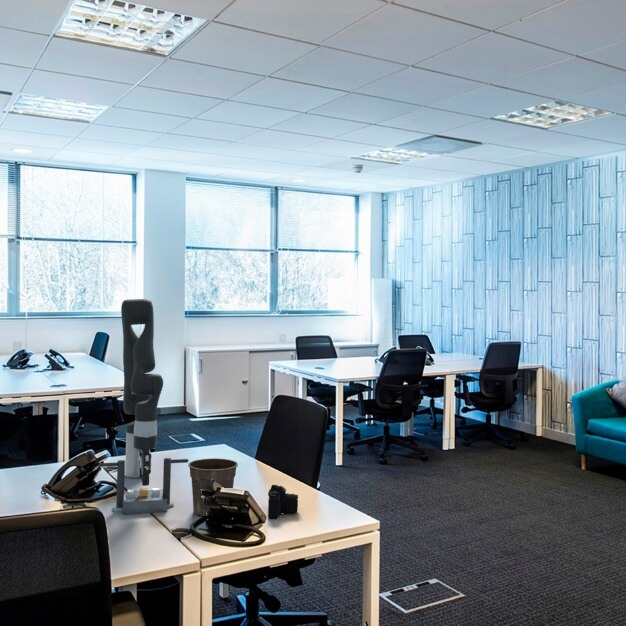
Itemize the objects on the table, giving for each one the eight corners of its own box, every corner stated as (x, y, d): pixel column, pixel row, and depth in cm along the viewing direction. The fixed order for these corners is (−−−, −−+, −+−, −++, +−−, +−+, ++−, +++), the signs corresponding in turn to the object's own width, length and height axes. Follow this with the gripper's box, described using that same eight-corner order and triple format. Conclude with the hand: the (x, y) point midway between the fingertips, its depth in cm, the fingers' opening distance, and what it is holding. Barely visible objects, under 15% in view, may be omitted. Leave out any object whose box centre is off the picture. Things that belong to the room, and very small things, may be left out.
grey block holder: (120, 503, 227) (120, 486, 226) (162, 500, 231) (162, 483, 231) (122, 514, 215) (123, 496, 215) (167, 511, 220) (167, 493, 220)
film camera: (295, 521, 215) (296, 493, 215) (265, 519, 215) (266, 492, 215) (298, 507, 230) (299, 481, 230) (270, 505, 231) (271, 479, 230)
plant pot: (182, 506, 226) (184, 459, 226) (229, 502, 232) (230, 456, 232) (192, 522, 211) (194, 471, 210) (242, 517, 217) (243, 467, 216)
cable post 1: (97, 508, 221) (98, 460, 220) (127, 506, 224) (128, 458, 224) (97, 513, 216) (99, 463, 216) (128, 511, 219) (129, 462, 219)
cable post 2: (157, 504, 227) (158, 457, 227) (186, 502, 231) (187, 456, 231) (159, 508, 223) (160, 460, 222) (188, 506, 226) (189, 459, 226)
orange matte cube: (139, 494, 224) (139, 488, 224) (146, 494, 225) (147, 488, 225) (140, 496, 222) (140, 490, 222) (147, 496, 223) (147, 490, 223)
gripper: (131, 429, 228) (130, 477, 229) (135, 438, 215) (134, 488, 215) (154, 429, 231) (152, 475, 231) (159, 437, 218) (158, 487, 218)
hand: (144, 481), depth 223 cm, fingers open, 8 cm apart
